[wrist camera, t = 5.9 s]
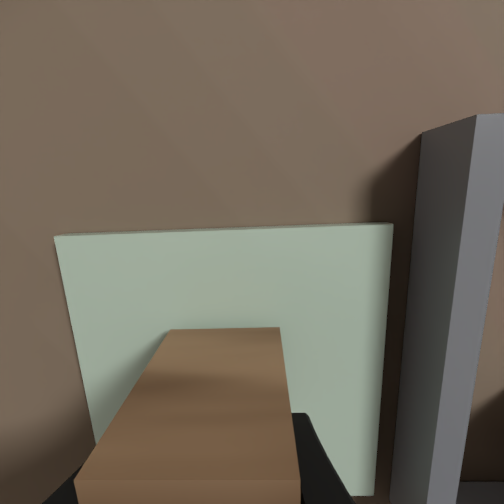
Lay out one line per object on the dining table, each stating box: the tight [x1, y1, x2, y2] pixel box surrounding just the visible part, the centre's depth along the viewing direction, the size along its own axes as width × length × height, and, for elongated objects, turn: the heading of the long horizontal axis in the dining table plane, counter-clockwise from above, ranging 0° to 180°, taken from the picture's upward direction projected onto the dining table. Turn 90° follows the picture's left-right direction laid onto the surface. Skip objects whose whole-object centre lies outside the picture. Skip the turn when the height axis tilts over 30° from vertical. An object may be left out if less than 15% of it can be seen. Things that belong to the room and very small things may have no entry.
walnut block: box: [74, 327, 301, 504], centre depth 8 cm, size 4×4×6 cm
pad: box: [54, 222, 394, 496], centre depth 12 cm, size 12×12×1 cm
